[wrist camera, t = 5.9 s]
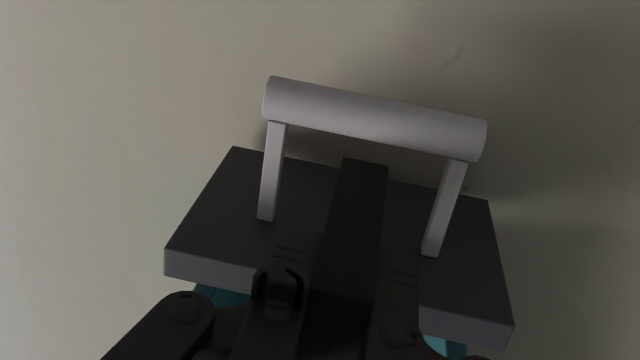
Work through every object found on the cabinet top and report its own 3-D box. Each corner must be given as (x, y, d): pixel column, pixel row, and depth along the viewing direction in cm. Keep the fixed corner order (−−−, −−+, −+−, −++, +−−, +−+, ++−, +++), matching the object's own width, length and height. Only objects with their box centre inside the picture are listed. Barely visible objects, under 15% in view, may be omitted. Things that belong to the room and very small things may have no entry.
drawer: (242, 25, 22) (166, 94, 15) (530, 84, 22) (583, 181, 15) (213, 357, 31) (157, 490, 25) (413, 404, 31) (412, 553, 24)
